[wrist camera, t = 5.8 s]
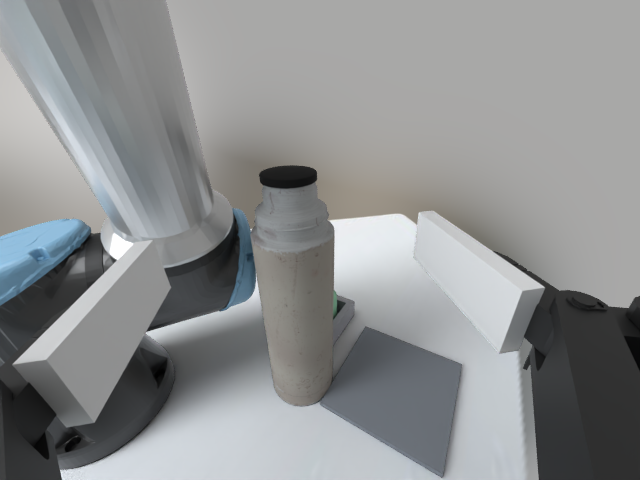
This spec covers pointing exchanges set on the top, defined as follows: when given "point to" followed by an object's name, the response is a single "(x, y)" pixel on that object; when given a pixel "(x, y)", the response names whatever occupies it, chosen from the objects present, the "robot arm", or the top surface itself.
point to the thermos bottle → (295, 282)
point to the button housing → (342, 316)
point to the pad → (398, 396)
